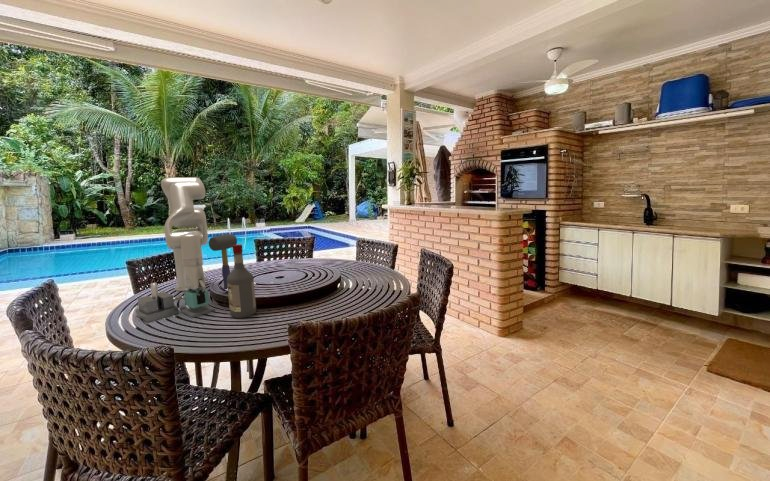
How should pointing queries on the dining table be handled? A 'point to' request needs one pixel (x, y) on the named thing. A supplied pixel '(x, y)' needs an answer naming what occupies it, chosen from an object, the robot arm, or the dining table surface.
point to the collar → (194, 298)
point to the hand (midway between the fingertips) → (197, 301)
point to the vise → (157, 305)
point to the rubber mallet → (223, 251)
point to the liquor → (240, 287)
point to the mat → (197, 311)
